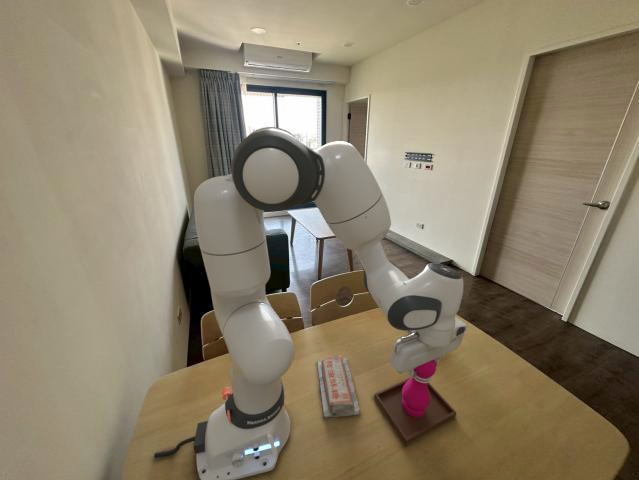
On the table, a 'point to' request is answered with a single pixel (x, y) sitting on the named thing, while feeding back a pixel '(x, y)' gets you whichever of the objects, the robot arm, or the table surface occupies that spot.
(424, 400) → the pepper mill
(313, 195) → the robot arm
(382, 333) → the table surface
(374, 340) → the table surface
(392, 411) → the tray
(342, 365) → the packaged product
